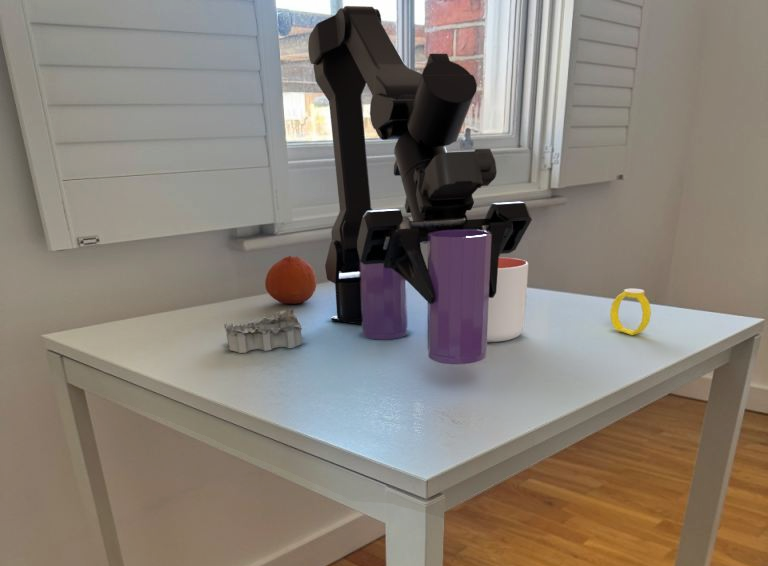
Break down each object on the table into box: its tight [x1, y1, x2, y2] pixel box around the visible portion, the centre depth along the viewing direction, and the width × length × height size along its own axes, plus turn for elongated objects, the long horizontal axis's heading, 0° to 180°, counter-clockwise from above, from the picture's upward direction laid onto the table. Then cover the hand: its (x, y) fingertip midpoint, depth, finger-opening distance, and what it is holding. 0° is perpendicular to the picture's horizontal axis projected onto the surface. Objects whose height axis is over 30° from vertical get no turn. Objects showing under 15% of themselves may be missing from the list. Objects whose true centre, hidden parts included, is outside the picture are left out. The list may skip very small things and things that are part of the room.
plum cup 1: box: [359, 258, 408, 341], centre depth 100 cm, size 7×7×13 cm
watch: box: [609, 287, 652, 336], centre depth 98 cm, size 6×3×6 cm, turn 32°
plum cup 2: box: [426, 229, 492, 365], centre depth 76 cm, size 7×7×13 cm
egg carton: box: [224, 308, 303, 354], centre depth 99 cm, size 11×8×4 cm
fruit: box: [264, 255, 317, 305], centre depth 123 cm, size 9×9×8 cm
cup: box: [487, 256, 529, 343], centre depth 99 cm, size 10×10×10 cm
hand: (462, 298), depth 75 cm, fingers closed on plum cup 2, 7 cm apart
